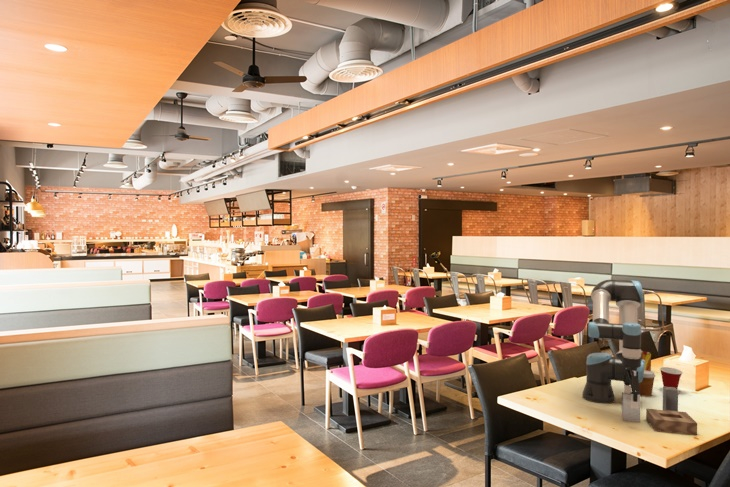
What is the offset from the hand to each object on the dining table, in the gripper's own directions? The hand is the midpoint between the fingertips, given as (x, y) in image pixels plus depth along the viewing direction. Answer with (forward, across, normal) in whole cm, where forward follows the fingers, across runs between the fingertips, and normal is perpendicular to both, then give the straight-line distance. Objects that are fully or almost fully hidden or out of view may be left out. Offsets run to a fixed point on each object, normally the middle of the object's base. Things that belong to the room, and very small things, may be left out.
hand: (631, 403), depth 228 cm
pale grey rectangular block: (+8, 0, 0) cm, 8 cm away
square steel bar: (+7, +16, -20) cm, 26 cm away
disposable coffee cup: (+7, +44, -16) cm, 48 cm away
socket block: (+8, -4, -15) cm, 17 cm away
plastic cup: (+7, +54, -31) cm, 63 cm away
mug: (+6, +92, -25) cm, 96 cm away
